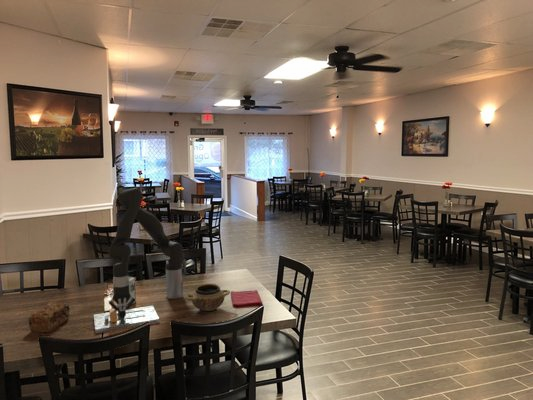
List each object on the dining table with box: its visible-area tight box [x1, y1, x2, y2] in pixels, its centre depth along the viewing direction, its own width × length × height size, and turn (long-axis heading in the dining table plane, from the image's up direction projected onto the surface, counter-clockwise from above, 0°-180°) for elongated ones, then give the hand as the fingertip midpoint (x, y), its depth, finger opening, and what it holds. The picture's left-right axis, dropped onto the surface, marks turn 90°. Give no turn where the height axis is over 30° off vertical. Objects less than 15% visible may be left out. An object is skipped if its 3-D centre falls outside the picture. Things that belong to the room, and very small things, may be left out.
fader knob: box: [108, 308, 117, 322], centre depth 203 cm, size 3×5×5 cm, turn 24°
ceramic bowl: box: [184, 283, 231, 314], centre depth 222 cm, size 24×18×15 cm
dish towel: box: [230, 290, 264, 308], centre depth 239 cm, size 17×24×3 cm
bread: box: [28, 300, 71, 333], centre depth 204 cm, size 19×11×10 cm, turn 174°
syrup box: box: [126, 276, 137, 306], centre depth 233 cm, size 6×6×14 cm
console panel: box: [93, 303, 160, 334], centre depth 209 cm, size 30×20×7 cm, turn 115°
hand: (122, 317), depth 205 cm, fingers closed
